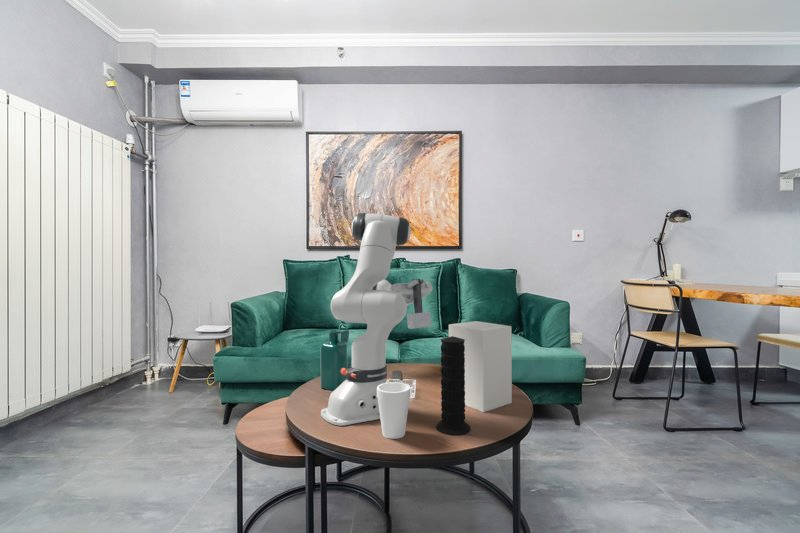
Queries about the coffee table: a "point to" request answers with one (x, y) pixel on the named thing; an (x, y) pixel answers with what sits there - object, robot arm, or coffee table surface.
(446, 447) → the coffee table surface
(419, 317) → the hammer
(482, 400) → the plinth
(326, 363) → the green bottle
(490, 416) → the coffee table surface
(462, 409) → the handle grip
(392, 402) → the foam cup
